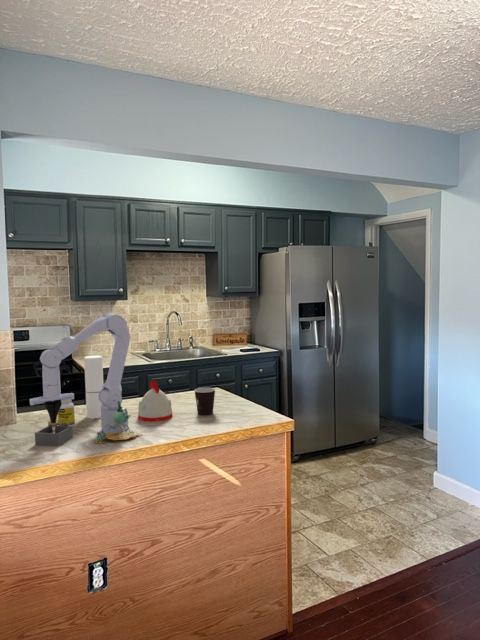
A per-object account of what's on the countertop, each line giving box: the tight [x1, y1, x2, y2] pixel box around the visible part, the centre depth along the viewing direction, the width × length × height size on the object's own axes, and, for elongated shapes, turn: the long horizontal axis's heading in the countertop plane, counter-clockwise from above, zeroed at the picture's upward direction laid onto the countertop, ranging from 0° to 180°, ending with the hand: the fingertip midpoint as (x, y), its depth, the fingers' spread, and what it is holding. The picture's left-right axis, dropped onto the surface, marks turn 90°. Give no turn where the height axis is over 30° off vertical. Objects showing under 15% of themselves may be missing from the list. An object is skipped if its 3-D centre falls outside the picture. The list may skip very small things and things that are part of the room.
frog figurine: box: [94, 401, 144, 445], centre depth 175 cm, size 10×18×15 cm, turn 115°
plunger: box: [47, 419, 59, 434], centre depth 172 cm, size 7×7×5 cm
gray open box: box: [34, 425, 74, 447], centre depth 173 cm, size 9×10×4 cm
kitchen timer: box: [137, 380, 173, 423], centre depth 201 cm, size 14×14×15 cm
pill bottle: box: [57, 399, 76, 427], centre depth 190 cm, size 6×6×11 cm
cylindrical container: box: [83, 355, 104, 420], centre depth 202 cm, size 7×7×25 cm
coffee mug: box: [194, 387, 216, 417], centre depth 206 cm, size 12×9×10 cm
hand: (53, 422), depth 172 cm, fingers closed, pressing on plunger
